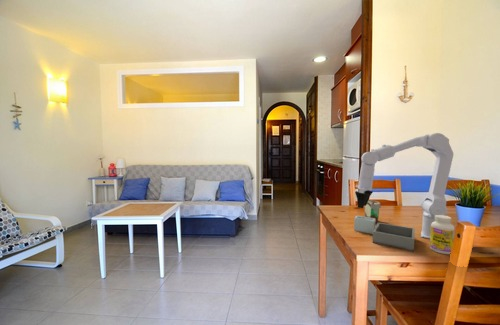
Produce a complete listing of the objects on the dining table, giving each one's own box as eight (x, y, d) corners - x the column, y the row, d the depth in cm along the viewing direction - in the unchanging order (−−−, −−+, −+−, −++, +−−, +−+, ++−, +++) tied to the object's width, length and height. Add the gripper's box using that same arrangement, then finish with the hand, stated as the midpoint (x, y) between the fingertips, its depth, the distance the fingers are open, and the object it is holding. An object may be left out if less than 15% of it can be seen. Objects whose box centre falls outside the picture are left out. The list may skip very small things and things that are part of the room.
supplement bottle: (428, 250, 85) (429, 216, 85) (431, 245, 90) (432, 213, 89) (452, 256, 80) (454, 220, 80) (454, 250, 85) (455, 216, 84)
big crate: (414, 238, 97) (414, 228, 96) (413, 251, 85) (414, 239, 85) (377, 232, 105) (378, 222, 104) (372, 242, 93) (372, 231, 93)
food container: (384, 225, 115) (384, 205, 114) (370, 224, 116) (371, 204, 115) (376, 218, 127) (376, 200, 126) (363, 217, 128) (364, 199, 128)
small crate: (375, 231, 106) (375, 218, 106) (373, 234, 102) (373, 220, 102) (356, 227, 111) (356, 215, 111) (354, 230, 107) (354, 217, 107)
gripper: (360, 175, 115) (356, 202, 116) (353, 177, 103) (349, 206, 104) (376, 177, 111) (371, 205, 112) (370, 180, 99) (366, 210, 100)
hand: (362, 206), depth 108 cm, fingers open, 7 cm apart
